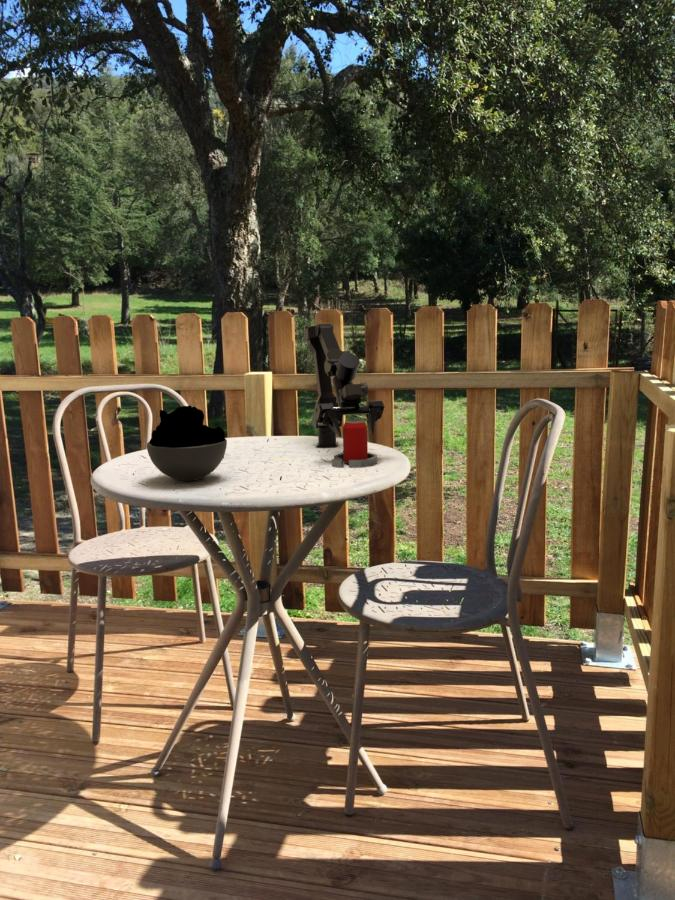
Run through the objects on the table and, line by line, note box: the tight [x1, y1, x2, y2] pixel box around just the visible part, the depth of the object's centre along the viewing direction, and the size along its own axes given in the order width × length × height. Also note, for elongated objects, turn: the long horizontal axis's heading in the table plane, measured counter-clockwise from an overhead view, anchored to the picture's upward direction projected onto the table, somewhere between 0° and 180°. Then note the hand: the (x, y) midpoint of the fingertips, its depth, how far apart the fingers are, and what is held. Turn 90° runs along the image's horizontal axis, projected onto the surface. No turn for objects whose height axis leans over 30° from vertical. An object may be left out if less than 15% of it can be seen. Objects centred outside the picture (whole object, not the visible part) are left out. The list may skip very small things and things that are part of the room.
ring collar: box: [331, 452, 378, 469], centre depth 211 cm, size 12×12×2 cm
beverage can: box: [342, 418, 369, 465], centre depth 210 cm, size 7×7×12 cm
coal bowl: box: [146, 405, 228, 482], centre depth 192 cm, size 20×20×19 cm
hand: (356, 435), depth 208 cm, fingers open, 9 cm apart
